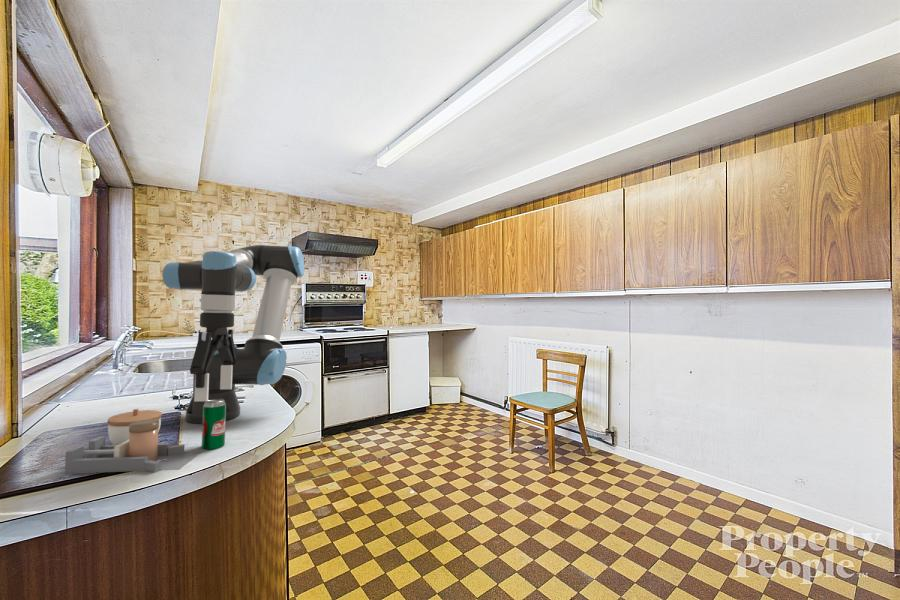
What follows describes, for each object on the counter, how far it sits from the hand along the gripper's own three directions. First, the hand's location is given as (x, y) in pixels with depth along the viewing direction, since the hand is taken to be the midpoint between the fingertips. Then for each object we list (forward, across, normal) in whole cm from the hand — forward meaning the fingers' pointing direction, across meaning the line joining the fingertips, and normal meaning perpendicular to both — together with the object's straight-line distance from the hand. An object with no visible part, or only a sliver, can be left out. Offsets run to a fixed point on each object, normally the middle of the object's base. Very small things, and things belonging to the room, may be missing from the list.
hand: (214, 394), depth 98 cm
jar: (+13, +8, -11) cm, 19 cm away
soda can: (+14, 0, 0) cm, 14 cm away
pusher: (+13, +9, -19) cm, 25 cm away
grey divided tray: (+14, +8, -12) cm, 20 cm away
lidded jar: (+14, -4, -20) cm, 25 cm away
